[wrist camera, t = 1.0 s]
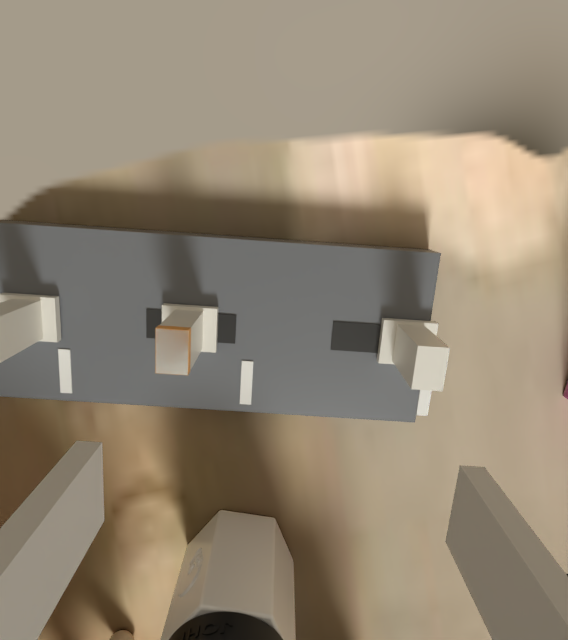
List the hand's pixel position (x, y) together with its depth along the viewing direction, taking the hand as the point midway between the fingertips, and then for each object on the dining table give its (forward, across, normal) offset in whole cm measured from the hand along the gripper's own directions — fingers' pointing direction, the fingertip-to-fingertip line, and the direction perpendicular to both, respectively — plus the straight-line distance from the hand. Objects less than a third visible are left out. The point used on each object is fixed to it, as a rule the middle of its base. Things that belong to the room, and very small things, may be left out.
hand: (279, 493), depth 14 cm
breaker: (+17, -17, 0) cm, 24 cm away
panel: (+20, -6, 0) cm, 21 cm away
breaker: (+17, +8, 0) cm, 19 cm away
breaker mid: (+17, -6, 0) cm, 18 cm away
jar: (+20, -2, -20) cm, 28 cm away
